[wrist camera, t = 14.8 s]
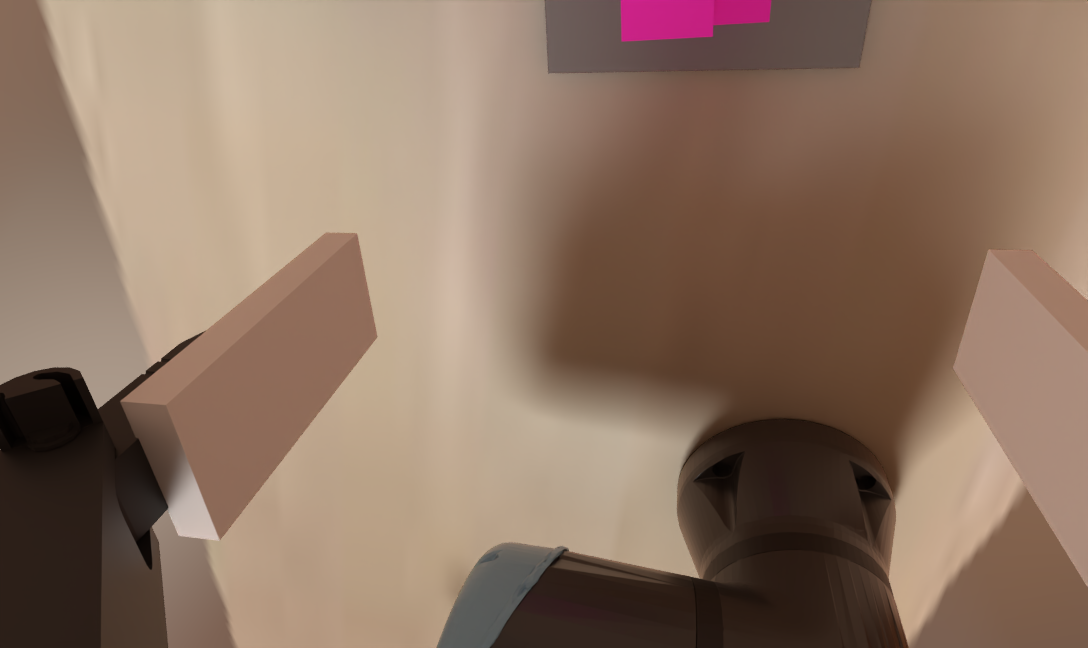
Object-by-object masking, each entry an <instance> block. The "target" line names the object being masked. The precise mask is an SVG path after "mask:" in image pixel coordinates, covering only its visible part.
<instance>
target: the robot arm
mask: <svg viewBox="0 0 1088 648" xmlns="http://www.w3.org/2000/svg"><path fill="white" fill-rule="evenodd" d="M376 338H377V333H376V327H375V322H374V317H373V312H372V307H371V302H370V297H369V292H368V287H367V282H366V277H365V271H364V266H363V261H362V256H361V251H360V246H359V241H358V236H357V233H325V234H324V235H323V236H321V237H320V238H319V239H318V240H317V241H315V242H314V243H313V244H312V245H310V246H309V247H308V248H307V249H306V250H304V251H303V252H302V253H301V254H299V255H298V256H297V257H296V258H295V259H293V260H292V261H291V262H290V263H288V264H287V265H286V266H285V267H284V268H282V269H281V270H280V271H279V272H277V273H276V274H275V275H274V276H273V277H271V278H270V279H269V280H268V281H266V282H265V283H264V284H263V285H262V286H260V287H259V288H258V289H257V290H255V291H254V292H253V293H252V294H251V295H249V296H248V297H247V298H246V299H244V300H243V301H242V302H241V303H240V304H238V305H237V306H236V307H235V308H233V309H232V310H231V311H230V312H229V313H227V314H226V315H225V316H224V317H222V318H221V319H220V320H219V321H218V322H216V323H215V324H214V325H213V326H211V327H210V328H209V329H208V330H206V331H204V332H202V333H200V334H198V335H196V336H194V337H192V338H190V339H188V340H186V341H184V342H182V343H180V344H179V345H178V346H176V347H175V348H174V349H173V350H171V351H170V352H169V353H168V354H166V355H165V356H164V357H163V358H161V362H156V363H155V364H154V365H153V366H151V367H150V368H149V369H148V370H146V374H142V375H140V376H139V377H138V378H137V379H135V380H134V381H133V382H132V383H130V384H129V385H128V386H126V387H125V388H124V389H123V390H121V391H120V392H119V393H118V394H117V395H115V396H114V397H113V398H111V399H110V400H109V401H108V402H107V403H105V404H104V405H103V406H102V407H100V408H99V409H97V407H96V405H95V403H94V400H93V398H92V396H91V394H90V392H89V390H88V387H87V385H86V383H85V381H84V379H83V377H82V375H81V373H80V371H78V370H75V369H72V368H49V369H44V370H38V371H34V372H31V373H28V374H25V375H22V376H19V377H16V378H14V379H12V380H10V381H8V382H6V383H4V384H2V385H0V449H1V450H0V648H168V642H167V630H166V618H165V607H164V596H163V585H162V573H161V562H160V551H159V542H158V539H157V537H156V535H155V533H154V531H153V529H152V525H153V524H154V523H155V522H156V521H157V520H158V519H159V518H160V517H161V516H162V514H163V513H164V512H165V511H166V510H168V512H169V515H170V517H171V519H172V521H173V524H174V526H175V528H176V531H177V533H178V535H179V536H186V537H194V538H202V539H211V540H219V541H220V540H221V538H222V537H223V536H224V534H225V533H226V532H227V531H228V529H229V528H230V527H231V525H232V524H233V523H234V522H235V520H236V519H237V518H238V516H239V515H240V514H241V512H242V511H243V510H244V509H245V507H246V506H247V505H248V503H249V502H250V501H251V500H252V498H253V497H254V496H255V494H256V493H257V492H258V491H259V489H260V488H261V487H262V485H263V484H264V483H265V482H266V480H267V479H268V478H269V476H270V475H271V474H272V472H273V471H274V470H275V469H276V467H277V466H278V465H279V463H280V462H281V461H282V460H283V458H284V457H285V456H286V454H287V453H288V452H289V451H290V449H291V448H292V447H293V445H294V444H295V443H296V441H297V440H298V439H299V438H300V436H301V435H302V434H303V432H304V431H305V430H306V429H307V427H308V426H309V425H310V423H311V422H312V421H313V420H314V418H315V417H316V416H317V414H318V413H319V412H320V410H321V409H322V408H323V407H324V405H325V404H326V403H327V401H328V400H329V399H330V398H331V396H332V395H333V394H334V392H335V391H336V390H337V389H338V387H339V386H340V385H341V383H342V382H343V381H344V380H345V378H346V377H347V376H348V374H349V373H350V372H351V370H352V369H353V368H354V367H355V365H356V364H357V363H358V361H359V360H360V359H361V358H362V356H363V355H364V354H365V352H366V351H367V350H368V349H369V347H370V346H371V345H372V343H373V342H374V341H375V339H376ZM953 369H954V371H955V373H956V374H957V376H958V378H959V379H960V381H961V382H962V384H963V386H964V387H965V389H966V391H967V392H968V394H969V395H970V397H971V399H972V400H973V402H974V404H975V405H976V407H977V408H978V410H979V412H980V413H981V415H982V417H983V418H984V420H985V421H986V423H987V425H988V426H989V428H990V430H991V431H992V433H993V434H994V436H995V438H996V439H997V441H998V442H999V444H1000V446H1001V447H1002V449H1003V451H1004V452H1005V454H1006V455H1007V457H1008V459H1009V460H1010V462H1011V464H1012V465H1013V467H1014V468H1015V470H1016V472H1017V473H1018V475H1019V477H1020V478H1021V480H1022V481H1023V483H1024V485H1025V486H1026V488H1027V489H1028V491H1029V493H1030V494H1031V496H1032V498H1033V499H1034V501H1035V503H1036V504H1037V506H1038V507H1039V509H1040V511H1041V512H1042V514H1043V516H1044V517H1045V519H1046V520H1047V522H1048V523H1049V525H1050V527H1051V529H1052V530H1053V532H1054V533H1055V535H1056V537H1057V538H1058V540H1059V541H1060V543H1061V545H1062V546H1063V548H1064V549H1065V551H1066V553H1067V554H1068V556H1069V558H1070V559H1071V561H1072V563H1073V564H1074V566H1075V567H1076V569H1077V570H1078V572H1079V574H1080V576H1081V577H1082V579H1083V580H1084V582H1085V583H1086V585H1087V587H1088V300H1087V299H1085V298H1084V297H1083V296H1082V295H1081V294H1080V293H1079V292H1078V291H1077V290H1076V289H1074V288H1073V287H1072V286H1071V285H1070V284H1069V283H1068V282H1067V281H1066V280H1065V279H1063V278H1062V277H1061V276H1060V275H1059V274H1058V273H1057V272H1056V271H1055V270H1054V269H1052V268H1051V267H1050V266H1049V265H1048V264H1047V263H1046V262H1045V261H1044V260H1042V259H1041V258H1040V257H1039V256H1038V255H1037V254H1036V253H1035V252H1034V251H1033V250H999V249H988V252H987V255H986V259H985V262H984V266H983V269H982V272H981V276H980V279H979V282H978V286H977V289H976V293H975V296H974V299H973V303H972V306H971V309H970V313H969V316H968V319H967V323H966V326H965V330H964V333H963V336H962V340H961V343H960V346H959V350H958V353H957V356H956V360H955V363H954V367H953ZM677 516H678V521H679V526H680V529H681V532H682V534H683V537H684V540H685V542H686V545H687V547H688V550H689V552H690V555H691V557H692V560H693V562H694V565H695V567H696V570H697V572H698V575H699V577H700V579H699V578H694V577H690V576H685V575H680V574H675V573H669V572H665V571H660V570H655V569H650V568H645V567H641V566H636V565H631V564H626V563H622V562H617V561H612V560H607V559H603V558H598V557H593V556H588V555H583V554H579V553H574V552H569V550H568V548H566V547H563V546H559V547H557V548H555V549H553V548H547V547H540V546H533V545H527V544H521V543H512V542H509V543H502V544H499V545H497V546H495V547H493V548H491V549H490V550H489V551H487V552H486V553H485V554H484V555H483V556H482V557H481V558H480V559H479V561H478V562H477V563H476V565H475V566H474V568H473V569H472V571H471V573H470V574H469V576H468V578H467V579H466V581H465V583H464V585H463V587H462V589H461V591H460V593H459V595H458V597H457V599H456V601H455V603H454V606H453V608H452V610H451V612H450V615H449V617H448V619H447V622H446V624H445V627H444V629H443V632H442V634H441V637H440V640H439V642H438V645H437V648H909V646H908V643H907V640H906V636H905V633H904V629H903V626H902V623H901V619H900V616H899V613H898V609H897V606H896V603H895V600H894V596H893V593H892V589H891V586H890V583H889V579H888V577H889V570H890V562H891V554H892V546H893V538H894V530H895V522H896V510H895V502H894V498H893V495H892V492H891V489H890V486H889V483H888V480H887V477H886V474H885V472H884V469H883V467H882V466H881V464H880V463H879V461H878V460H877V458H876V457H875V456H874V455H873V454H872V453H871V452H870V451H869V450H868V449H867V448H866V447H865V446H864V445H862V444H861V443H860V442H858V441H857V440H855V439H854V438H852V437H850V436H849V435H847V434H845V433H843V432H840V431H838V430H836V429H833V428H830V427H827V426H824V425H821V424H817V423H812V422H806V421H799V420H765V421H758V422H752V423H748V424H744V425H740V426H737V427H734V428H731V429H729V430H726V431H724V432H722V433H720V434H718V435H716V436H714V437H713V438H711V439H709V440H708V441H707V442H705V443H704V444H703V445H701V446H700V447H699V448H698V449H697V450H696V451H695V452H694V453H693V454H692V455H691V456H690V458H689V459H688V461H687V462H686V464H685V465H684V467H683V469H682V471H681V474H680V477H679V481H678V488H677Z"/></svg>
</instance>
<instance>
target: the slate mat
mask: <svg viewBox="0 0 1088 648" xmlns="http://www.w3.org/2000/svg"><path fill="white" fill-rule="evenodd" d="M870 6H871V0H771V9H770V20H769V22H760V23H743V24H726V25H713V37H696V38H678V39H660V40H642V41H624V42H622V39H621V0H545V12H546V33H547V53H548V73H593V72H648V71H703V70H758V69H813V68H859V67H860V61H861V55H862V50H863V44H864V39H865V33H866V28H867V22H868V17H869V11H870Z"/></svg>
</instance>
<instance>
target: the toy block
mask: <svg viewBox="0 0 1088 648" xmlns="http://www.w3.org/2000/svg"><path fill="white" fill-rule="evenodd" d="M770 9H771V0H621V39H622V42H624V41H642V40H660V39H678V38H696V37H713V25H726V24H743V23H760V22H769V20H770Z"/></svg>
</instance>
